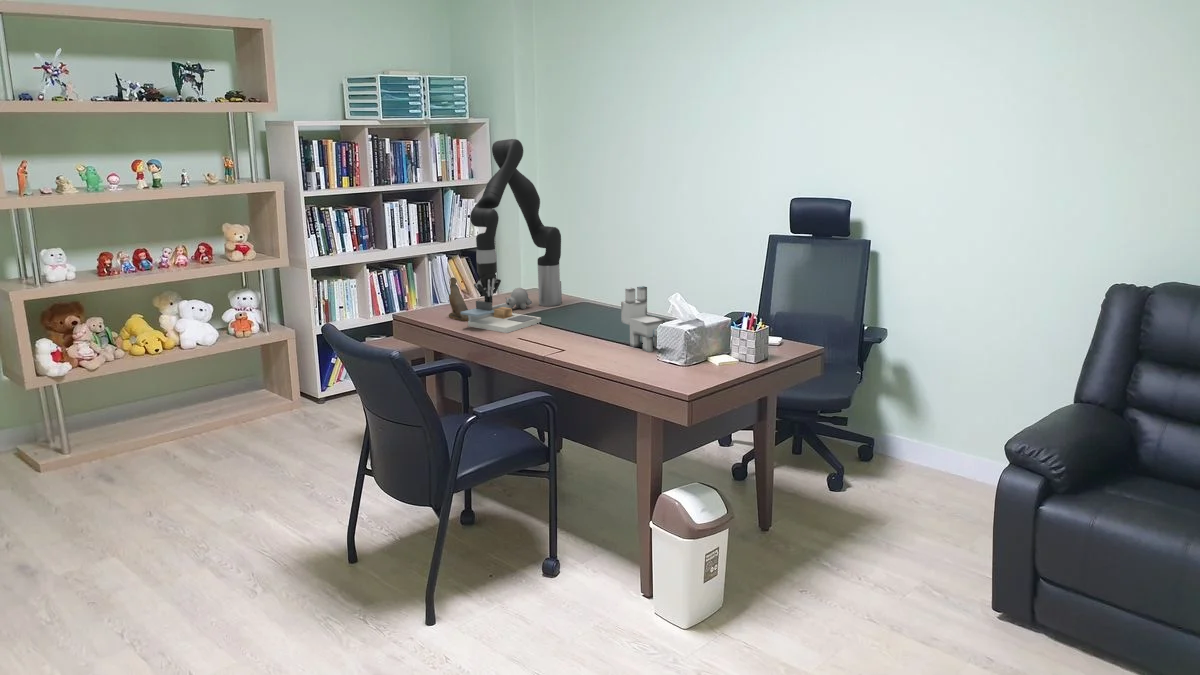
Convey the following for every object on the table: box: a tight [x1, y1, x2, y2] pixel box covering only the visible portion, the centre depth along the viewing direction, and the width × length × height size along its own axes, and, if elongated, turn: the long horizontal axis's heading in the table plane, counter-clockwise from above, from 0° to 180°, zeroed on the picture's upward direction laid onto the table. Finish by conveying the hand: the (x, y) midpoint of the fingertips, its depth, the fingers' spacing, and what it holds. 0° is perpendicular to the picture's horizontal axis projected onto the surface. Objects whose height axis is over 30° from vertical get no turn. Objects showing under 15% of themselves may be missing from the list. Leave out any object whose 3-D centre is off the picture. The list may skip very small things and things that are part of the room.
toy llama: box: [620, 285, 666, 353], centre depth 302 cm, size 8×18×20 cm, turn 34°
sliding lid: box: [461, 300, 494, 317], centre depth 333 cm, size 9×9×4 cm
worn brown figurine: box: [448, 277, 469, 322], centre depth 350 cm, size 12×6×18 cm, turn 38°
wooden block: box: [494, 307, 513, 319], centre depth 345 cm, size 5×5×5 cm
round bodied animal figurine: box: [504, 287, 533, 310], centre depth 366 cm, size 7×12×8 cm, turn 126°
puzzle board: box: [467, 302, 542, 334], centre depth 339 cm, size 20×20×6 cm
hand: (488, 305), depth 337 cm, fingers closed
